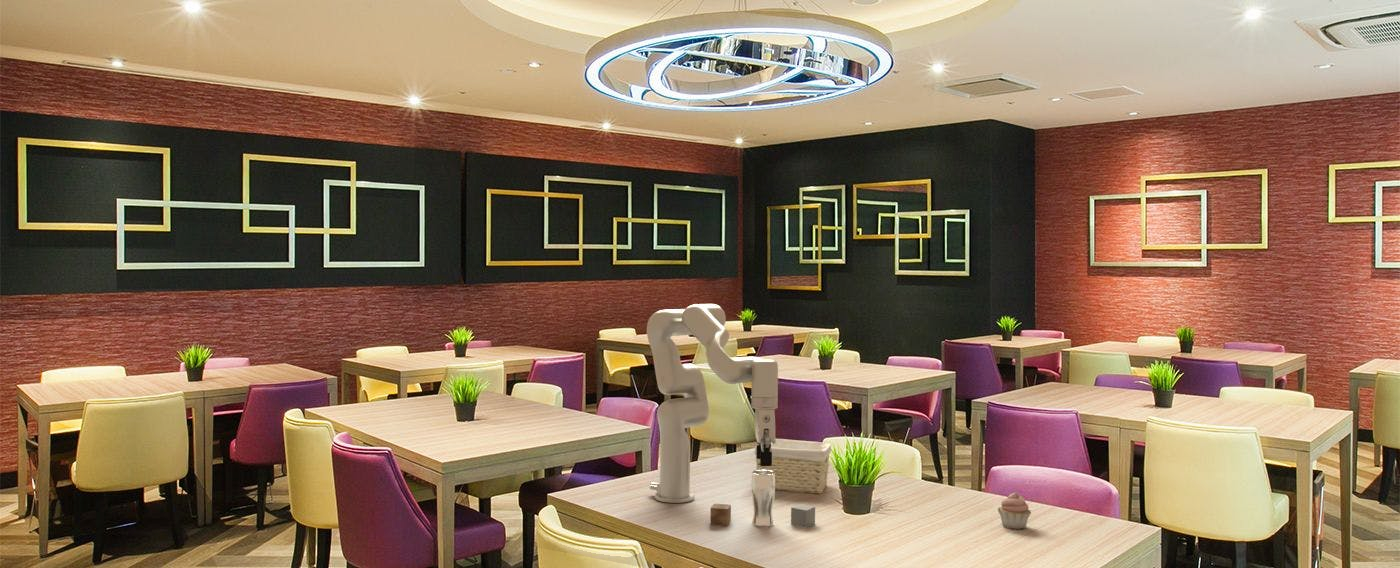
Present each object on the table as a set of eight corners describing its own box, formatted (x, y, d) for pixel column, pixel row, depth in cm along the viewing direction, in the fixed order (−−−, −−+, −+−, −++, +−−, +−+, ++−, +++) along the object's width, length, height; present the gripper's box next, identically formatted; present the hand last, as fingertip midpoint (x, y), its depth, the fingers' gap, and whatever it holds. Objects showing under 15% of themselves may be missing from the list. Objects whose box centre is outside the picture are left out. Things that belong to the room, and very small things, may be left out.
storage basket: (831, 484, 312) (832, 441, 312) (824, 496, 296) (825, 450, 296) (763, 479, 319) (763, 437, 318) (752, 490, 303) (753, 445, 303)
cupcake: (1014, 532, 257) (1015, 497, 256) (990, 524, 265) (990, 490, 265) (1038, 528, 261) (1039, 494, 261) (1013, 520, 269) (1014, 486, 269)
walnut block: (710, 525, 261) (710, 507, 261) (713, 520, 266) (714, 503, 265) (727, 526, 260) (727, 509, 259) (730, 521, 264) (730, 504, 264)
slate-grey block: (790, 524, 262) (791, 507, 262) (800, 521, 266) (800, 504, 266) (806, 527, 259) (806, 510, 259) (814, 524, 263) (815, 506, 263)
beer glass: (773, 528, 258) (774, 475, 258) (748, 526, 259) (749, 474, 259) (776, 521, 265) (777, 470, 264) (752, 520, 266) (753, 468, 266)
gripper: (781, 407, 253) (781, 468, 253) (773, 398, 270) (773, 456, 270) (754, 407, 253) (754, 468, 253) (748, 398, 270) (747, 456, 270)
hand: (763, 462), depth 262 cm, fingers open, 9 cm apart
